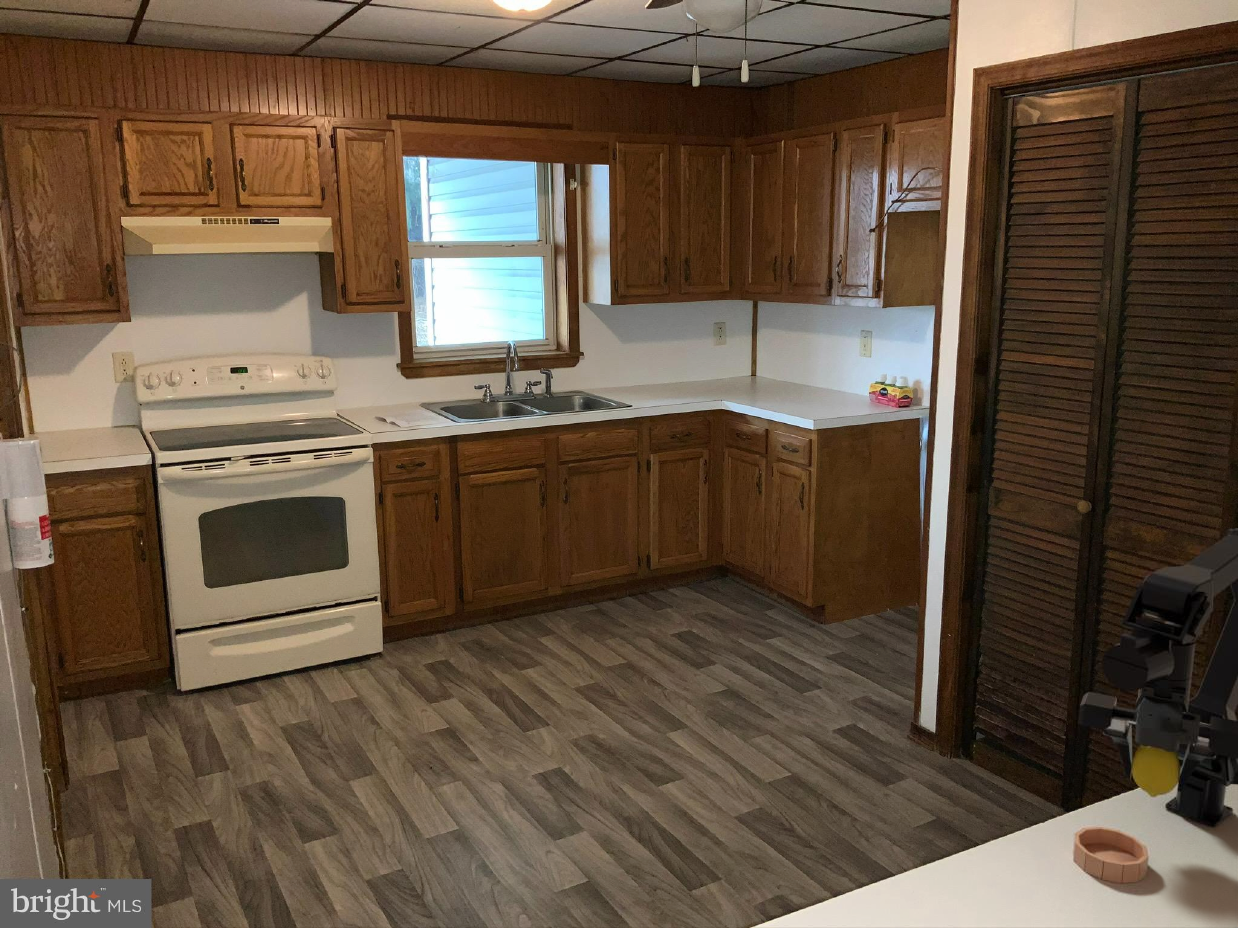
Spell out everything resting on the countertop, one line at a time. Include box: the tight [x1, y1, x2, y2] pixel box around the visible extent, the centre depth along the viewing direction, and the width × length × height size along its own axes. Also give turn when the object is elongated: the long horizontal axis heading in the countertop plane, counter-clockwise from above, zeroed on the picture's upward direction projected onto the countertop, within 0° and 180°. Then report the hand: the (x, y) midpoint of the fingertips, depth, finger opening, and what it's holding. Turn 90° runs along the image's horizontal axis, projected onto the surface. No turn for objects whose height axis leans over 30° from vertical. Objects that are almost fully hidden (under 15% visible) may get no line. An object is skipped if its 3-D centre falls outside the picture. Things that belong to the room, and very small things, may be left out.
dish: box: [1072, 826, 1149, 884], centre depth 127 cm, size 8×8×2 cm
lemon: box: [1131, 745, 1180, 798], centre depth 130 cm, size 6×6×8 cm
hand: (1153, 784), depth 131 cm, fingers closed on lemon, 5 cm apart
